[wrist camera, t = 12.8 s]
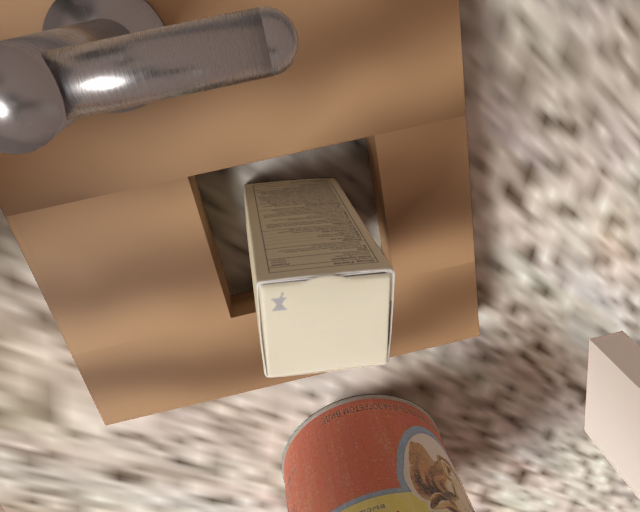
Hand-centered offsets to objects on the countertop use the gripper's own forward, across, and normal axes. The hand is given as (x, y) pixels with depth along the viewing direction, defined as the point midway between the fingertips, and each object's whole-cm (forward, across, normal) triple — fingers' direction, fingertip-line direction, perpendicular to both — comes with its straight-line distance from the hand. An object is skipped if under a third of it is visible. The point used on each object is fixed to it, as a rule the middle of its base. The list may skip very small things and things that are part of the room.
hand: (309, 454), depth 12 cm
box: (+19, +1, -2) cm, 19 cm away
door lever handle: (+17, -3, +8) cm, 19 cm away
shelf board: (+19, -1, 0) cm, 19 cm away
